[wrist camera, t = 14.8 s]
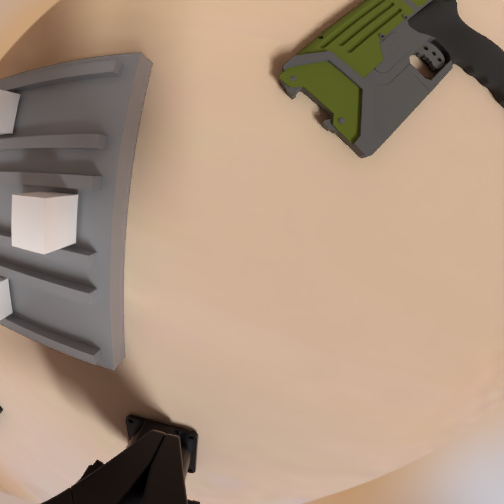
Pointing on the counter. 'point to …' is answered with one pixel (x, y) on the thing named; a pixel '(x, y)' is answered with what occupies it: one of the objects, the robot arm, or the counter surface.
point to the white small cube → (44, 221)
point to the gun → (387, 66)
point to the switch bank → (89, 200)
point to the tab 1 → (8, 111)
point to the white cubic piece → (5, 298)
